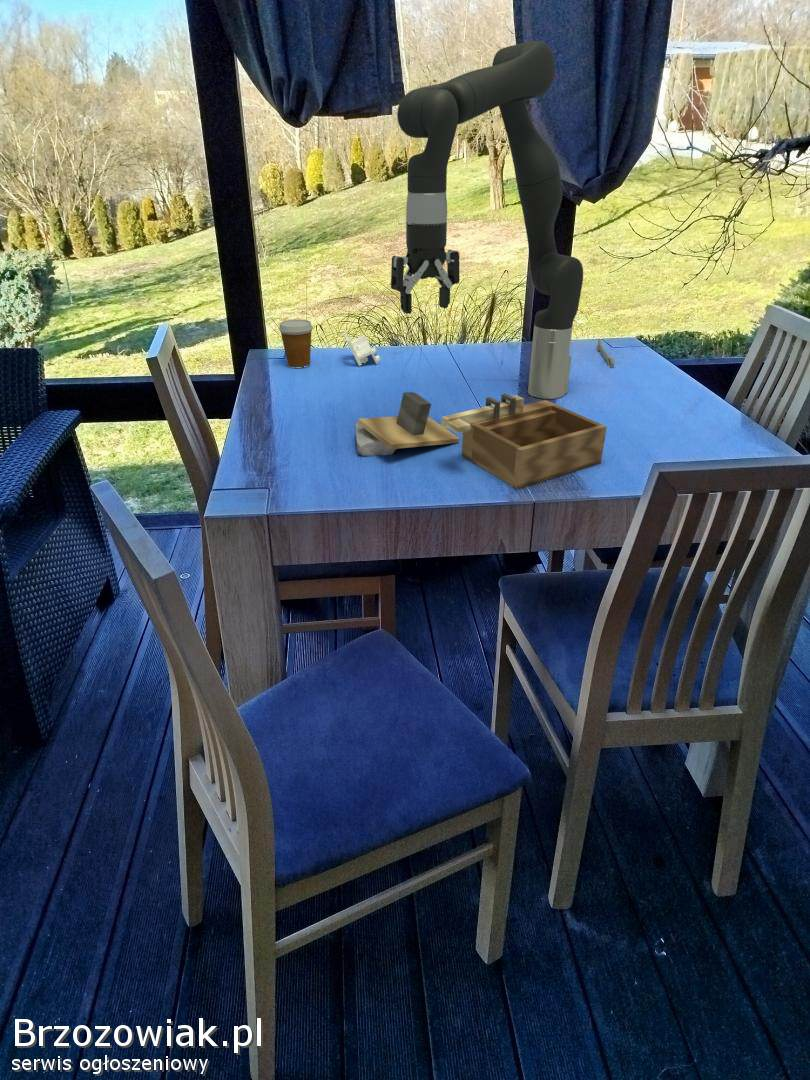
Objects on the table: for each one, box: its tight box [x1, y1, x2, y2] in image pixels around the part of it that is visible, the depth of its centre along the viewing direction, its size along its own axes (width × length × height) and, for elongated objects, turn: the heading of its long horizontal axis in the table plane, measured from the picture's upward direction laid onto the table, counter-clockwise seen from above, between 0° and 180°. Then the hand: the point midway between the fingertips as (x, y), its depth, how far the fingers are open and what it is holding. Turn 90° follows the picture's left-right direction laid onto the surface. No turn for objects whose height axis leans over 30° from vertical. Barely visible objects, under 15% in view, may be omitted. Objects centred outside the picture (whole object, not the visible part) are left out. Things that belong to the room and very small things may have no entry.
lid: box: [357, 391, 461, 450], centre depth 144 cm, size 19×12×8 cm, turn 127°
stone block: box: [354, 422, 397, 457], centre depth 147 cm, size 12×5×10 cm
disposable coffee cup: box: [278, 318, 314, 368], centre depth 193 cm, size 10×10×12 cm
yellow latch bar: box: [440, 394, 525, 435], centre depth 137 cm, size 19×6×3 cm, turn 122°
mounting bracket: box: [343, 331, 382, 366], centre depth 198 cm, size 12×6×11 cm, turn 10°
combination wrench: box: [596, 338, 615, 368], centre depth 201 cm, size 4×1×20 cm
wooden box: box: [461, 393, 608, 490], centre depth 138 cm, size 22×18×12 cm
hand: (425, 310), depth 134 cm, fingers open, 8 cm apart
